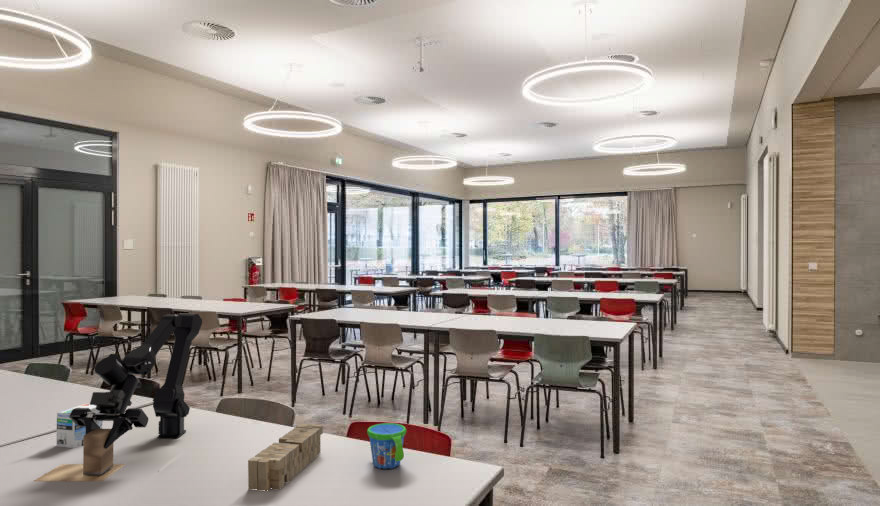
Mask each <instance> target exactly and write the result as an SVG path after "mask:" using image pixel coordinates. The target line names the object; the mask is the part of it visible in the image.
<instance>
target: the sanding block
mask: <svg viewBox="0 0 880 506" xmlns="http://www.w3.org/2000/svg"><path fill="white" fill-rule="evenodd" d="M111 429H112V428H102V429H95V430H93V431H91V432H89V433H88V434H86V435H84V445H83V446H82V448H83V456H82V457H83V458H82V460H83V461H82V462H83V463H82V464H83V475H101V474H103V473H104V472H106V471H107V470H108V469H110V468H111V467H113V464H114V443H112V444H111V445H110V446H109V447H108V448H107V449H105V448H104V444H105V441H106V439H107V437H108V435H109V433H110V431H111Z"/></svg>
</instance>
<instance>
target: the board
mask: <svg viewBox="0 0 880 506" xmlns="http://www.w3.org/2000/svg"><path fill="white" fill-rule="evenodd" d="M126 465H127V464H124V463H123V464H121V463H117V464H116V463H113V467H111V468H110V469H108V470H107V471H106V472H104V473H103V474H101V475H83V463H82V464H80V463H79V464H78V463H76V464H74V463H73V464H69V463H68V464H67V463H64V464H63V463H62V464H60V465H58V466H57V467H54V468H53V469H52V470H50V471H48V472H46V473H44V474H43V475H41V476H39V477H38V478H36V479H34V480H33V482H103V481H104V480H107V478H109V477H110V476H112V475H113V474H114V473H116V472H117V471H120V469H121V468H123V467H124V466H126Z"/></svg>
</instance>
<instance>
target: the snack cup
mask: <svg viewBox="0 0 880 506" xmlns="http://www.w3.org/2000/svg"><path fill="white" fill-rule="evenodd" d="M366 434H367V436H368V438H369V444H370V452H371V460H372V464H373V465H374V467H375V468H378V469H380V468H383V469H382V470H388V469H387V468H390V469H394V468H397V467H398V466H399V465H400V464H401V461H403V459H404V457H405V453H404V448H403V447H404V446H403V445H404V441H405V440H404V439H405V436H406V434H407V429H406V426H404V425H402V424H399V423H390V422H384V423H377V424H374V425H371V426H369V427H368V428H367V431H366ZM396 466H397V467H396Z"/></svg>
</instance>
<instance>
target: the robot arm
mask: <svg viewBox="0 0 880 506" xmlns="http://www.w3.org/2000/svg"><path fill="white" fill-rule="evenodd" d="M202 325H203V319H202V317H201V315H199V313H185V312H184V313H182V312H180V313H178V314H165V315H163V316H162V317H161V319H160V322H159V323H158V324H157V325H156V327H155V328H154V329H153V330H152V331H151V333H150V334H149V335H148V337H147V338H146V339H145V340H144V341H143V343H141V345H140V346H138V347H136V348H134V349H132V350H130V352H128V353H127V354H126V355H125V356H124V357H123V359H121V357H120V355H118V353H110V354H109V355H108V356H107V357H104V358H103V359H101V360H100V361H98V362H97V363H96V364H95V366H94V372H95V374H96V375H97V376H98V377H100V378H101V379H102V381H103V382H104V383H105V384H107V385H109V386H111V387H110V390H109V391H106V392H105V391H103V392H102V391H94V392H92V394H91V398H90V402H89V404H90V405H95V406H96V409H97V410H99V411H100V412H99V413H94V412H92V411H91V410H90V409H89V408H75V409H73V410H72V411H71V413H70V415H69V417H70V418H71V419H72V421H73V422H74V423H75V424H76V425H77V426H80V427H86V434H88V433H89V432H91V431H93V430H95V429H101V428H100V427H99V426H98V425H97V424H98V422H99V421H102V422H103V421H104V422H112V427H111V428H110V429H111V431H110V433H109V435H108V437H107V439H106V441H105V444H104V448H105V449H107V448H108V447H109V446H110V445H111V444H112V443H113V444H114V443H115V442H116V441H117V440H118V439H120V437H121V436H124V434H126V433H127V432H128V431H132V430H133V428H134V427H135V428H146V427H147V425H148V422H149V417H148V416H147V413H145V411H144V410H143V409H142V408H128V407H131V405H132V404H133V402H132V401H131V400H132V397H133V395H134V392H135V390H136V389H139V388H142V387H143V385H142V383H141V380H140V378H139V377H138V378H137V377H136V376H138V375H139V376H146V375H148V374H149V373H150V372H151V371H152V369H153V368H154V366H155V364H156V362H157V355H158V353H159V351H160V350H161V348H163V346H164V345H165V344H166V342H167V341H168V339H169V338H170V337H171V336H172V335H173V336H174V338H175V339H174V342H173V347H172V351H171V356H170V359H169V363H168V368H167V372H166V375H165V379H164V383H163V384H162V386H161V387H157V388H156V389H155V390H154V396H153V399H152V407H153V408H152V409H153V412H154V414H155V415H154V416H155V417H156V418H158V417H159V418H160V419H159V421H158V435H157V438H158V439H177V438H180V437H181V436H182V435H184V434H185V433H186V432H187V429H185V418H187V416H188V415H189V413H190V410H191V409H190V408H191V407H190V406H189V405H188V404H187V403H186V401H185V392H184V389H183V387H182V384H183V380H184V375H185V371H186V367H187V363H188V358H189V354H190V349H191V345H192V341H194V339H195V338H196V337H197V336H198V335H199V333H200V331H201V327H202ZM127 408H128V409H127ZM133 426H134V427H133ZM86 434H85V435H86ZM157 438H156V439H157Z"/></svg>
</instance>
